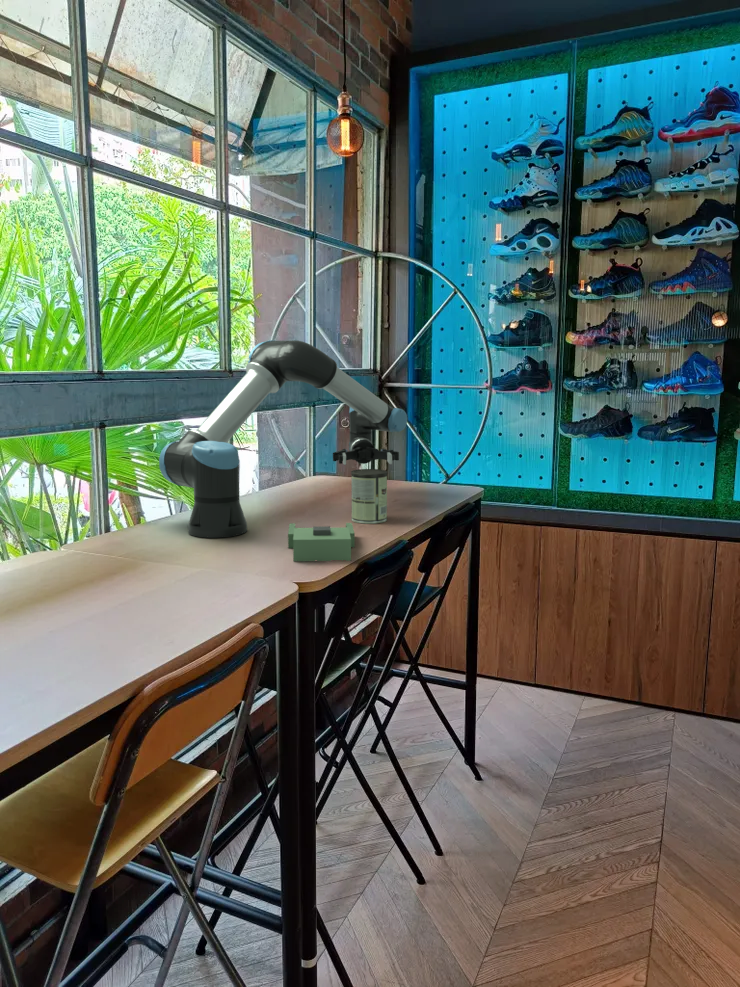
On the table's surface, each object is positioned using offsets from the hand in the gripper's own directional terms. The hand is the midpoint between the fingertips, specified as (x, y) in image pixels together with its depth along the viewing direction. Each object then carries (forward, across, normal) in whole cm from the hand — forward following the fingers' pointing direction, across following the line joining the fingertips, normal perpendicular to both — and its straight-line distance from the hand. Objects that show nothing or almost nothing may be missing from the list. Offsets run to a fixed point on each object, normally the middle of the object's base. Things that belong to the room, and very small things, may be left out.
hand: (367, 460), depth 218 cm
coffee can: (+10, 0, -16) cm, 19 cm away
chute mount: (+42, +14, -15) cm, 47 cm away
